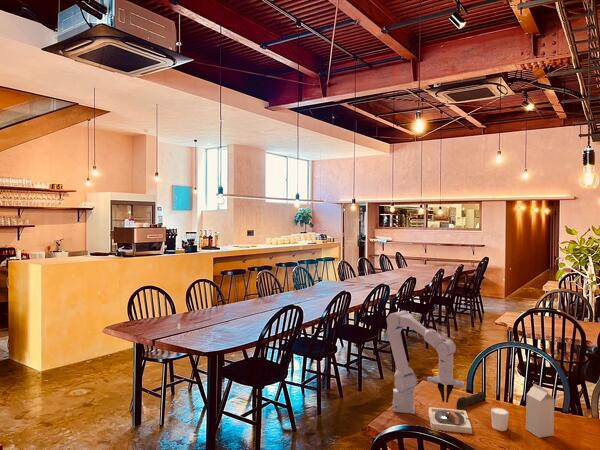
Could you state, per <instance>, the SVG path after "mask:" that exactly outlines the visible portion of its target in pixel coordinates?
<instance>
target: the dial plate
mask: <svg viewBox="0 0 600 450" xmlns="http://www.w3.org/2000/svg"><path fill="white" fill-rule="evenodd" d="M442 410H447V411H453V412H456V413H459V414H460V415H462V416H463V417H464V423H463V424H461V425H450V424H443V423H440V422H439V421H437V420H436V419H435V413H436V412H437V411H442ZM427 412H428V419H429V424H430V429H431V430H435V431H446V432H456V433H462V434H463V433H464V434H472V435H473V430H472V425H471V422H470V418H469V417H468V414H467V411H466V410H463V409H461V410H460V409H452V408H443V407H441V408H440V407H432V406H429V407H428V411H427Z"/></svg>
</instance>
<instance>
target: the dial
mask: <svg viewBox="0 0 600 450" xmlns="http://www.w3.org/2000/svg"><path fill="white" fill-rule="evenodd" d="M435 419H436V420H437V421H439V422H440V423H443V424H450V425H461V424H463V423H464V417H463V416H462V415H460V414H459V413H456V412H453V411H447V410H442V411H437V412H436V413H435Z"/></svg>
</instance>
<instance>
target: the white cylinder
mask: <svg viewBox="0 0 600 450" xmlns="http://www.w3.org/2000/svg"><path fill="white" fill-rule="evenodd" d="M509 412H510V411H508V410H507V409H504V408H501V407H492V408H491V409H490V413H491V414H490V415H491V417H490V418H491V426H492V428H493V429H494V430H497V431H499V432H500V431H501V432H504V431H506V430H508V422H509V416H510V415H509V414H510V413H509Z"/></svg>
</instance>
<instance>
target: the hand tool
mask: <svg viewBox="0 0 600 450" xmlns="http://www.w3.org/2000/svg"><path fill="white" fill-rule="evenodd" d="M486 398H487V396H486V394H485V393H484V392H483V391H478V392H477V393H474V394H471V395H469V396H466V397H465V396H461V397H459V398H457V401H456V406H455V407H456V410H460V408H461V409H465V407H466V408H467V407H468V406H470V405H473V404H476V403H479V402H481V401H482V402H483V401H484V402H485V401H486Z"/></svg>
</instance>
